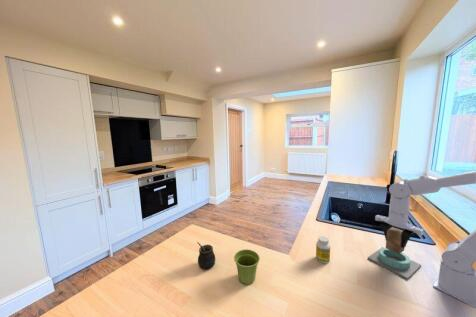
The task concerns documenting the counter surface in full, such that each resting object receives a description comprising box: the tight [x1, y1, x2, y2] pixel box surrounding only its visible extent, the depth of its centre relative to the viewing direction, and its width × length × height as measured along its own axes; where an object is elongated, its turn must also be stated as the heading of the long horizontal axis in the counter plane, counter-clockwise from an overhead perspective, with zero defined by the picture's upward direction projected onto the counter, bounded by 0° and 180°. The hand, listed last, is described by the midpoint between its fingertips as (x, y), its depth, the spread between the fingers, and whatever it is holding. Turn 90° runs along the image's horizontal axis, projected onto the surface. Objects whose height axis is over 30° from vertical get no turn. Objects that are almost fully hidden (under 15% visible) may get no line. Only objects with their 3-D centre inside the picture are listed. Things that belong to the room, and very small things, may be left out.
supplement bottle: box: [315, 235, 331, 264], centre depth 76 cm, size 5×5×10 cm
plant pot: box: [233, 249, 261, 286], centre depth 67 cm, size 9×9×9 cm
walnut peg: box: [385, 226, 405, 254], centre depth 73 cm, size 4×4×8 cm
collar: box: [367, 247, 422, 281], centre depth 74 cm, size 13×13×3 cm
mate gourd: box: [197, 241, 216, 271], centre depth 74 cm, size 7×8×10 cm
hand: (395, 243), depth 73 cm, fingers closed on walnut peg, 4 cm apart
